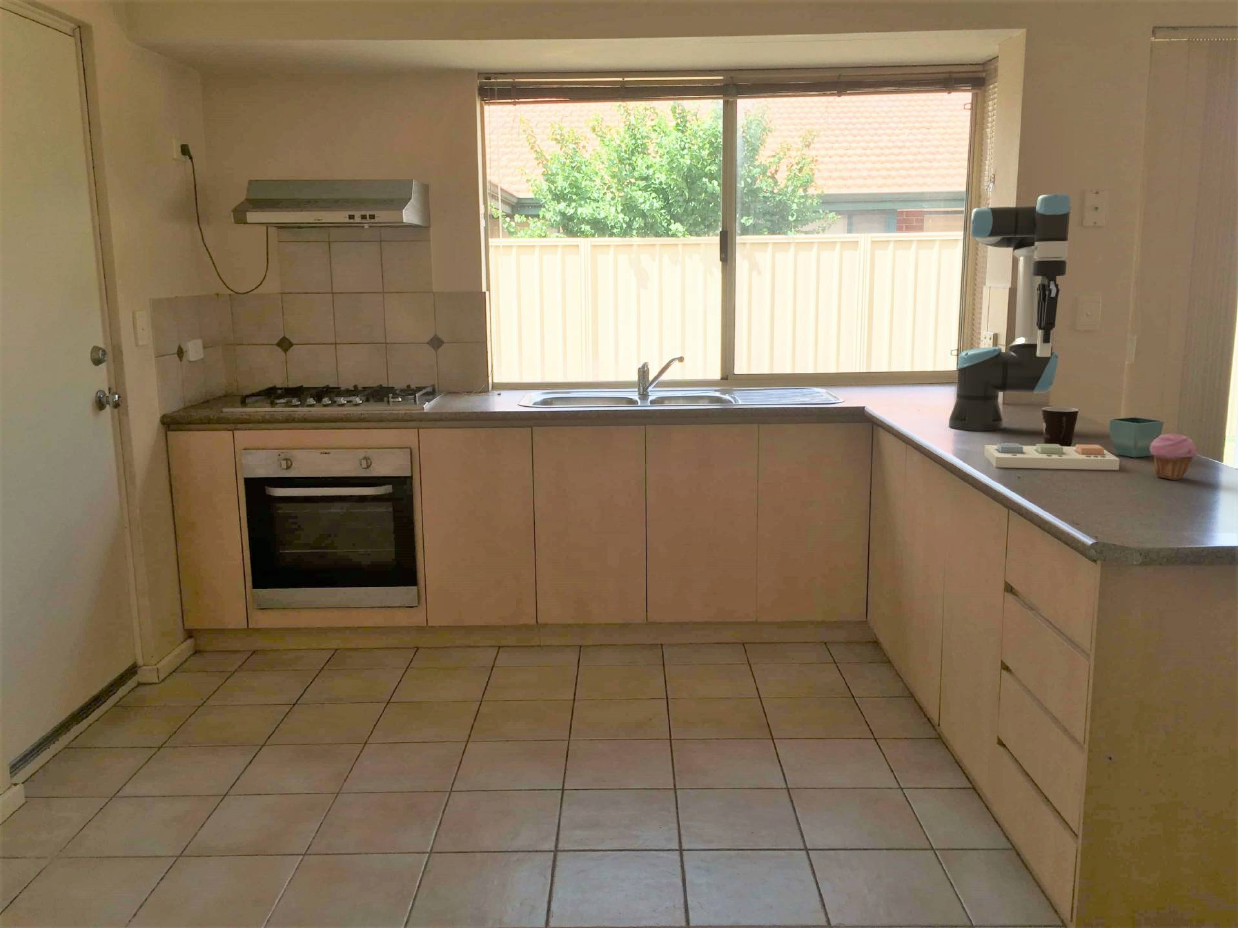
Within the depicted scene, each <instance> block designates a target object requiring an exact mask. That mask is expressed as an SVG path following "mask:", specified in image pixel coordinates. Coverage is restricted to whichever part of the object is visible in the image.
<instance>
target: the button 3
mask: <svg viewBox="0 0 1238 928" xmlns="http://www.w3.org/2000/svg"><path fill="white" fill-rule="evenodd" d="M1075 447H1076V451H1075V452H1076V453H1077V454H1079V455H1104V450H1105V448H1104V447H1102V446H1101V445H1100V444H1075Z"/></svg>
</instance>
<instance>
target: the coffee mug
mask: <svg viewBox="0 0 1238 928" xmlns="http://www.w3.org/2000/svg"><path fill="white" fill-rule="evenodd" d="M1041 412H1042V428H1043V430H1042V431H1043V444H1059V445H1060V446H1065V447H1072V445H1073V439H1074V435H1075V430H1076V424H1077V419H1078V415H1079V414H1078V413H1079V409H1078V408H1074V407H1065V406H1046V407H1042V408H1041Z"/></svg>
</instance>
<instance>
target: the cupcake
mask: <svg viewBox="0 0 1238 928" xmlns="http://www.w3.org/2000/svg"><path fill="white" fill-rule="evenodd" d="M1150 452H1151V454H1150V455H1153V460H1154V475H1155V476H1156V477H1158V478H1163V479H1168V480H1171V481H1177V480H1179V479H1182V478H1183V477H1185V475H1186V474H1187V472H1189V469H1190V466H1191V463H1192V460H1193V458H1195V457H1196V456H1197V448H1196V444H1195V443H1194V441H1193V439H1191V437H1188V436H1186V435H1183V434H1177V433H1169V434H1168V433H1167V434H1161V435H1160V436H1159V437H1158V438H1157V439H1155V440H1154V441H1153V442H1152V443H1151V446H1150Z"/></svg>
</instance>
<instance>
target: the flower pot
mask: <svg viewBox="0 0 1238 928" xmlns="http://www.w3.org/2000/svg"><path fill="white" fill-rule="evenodd" d="M1108 423H1109V435H1110V436H1109V437H1110V440H1111V443H1112V446H1113V448H1114V450H1115V452H1116V453H1117V455H1119V456H1125V457H1130V458H1135V459H1136V458H1139V457H1142V458H1143V457H1149V456H1151V455H1152V454H1151V452H1150V446H1151V443H1152V442H1153V441H1154V440H1155V439H1157V438H1158V437H1159V436H1160V435H1162V431H1163V427H1164V423H1165V422H1164V420H1158V419H1153V418H1144V417H1138V416H1130V417H1128V416H1127V417H1120V418H1110V419H1109V420H1108Z"/></svg>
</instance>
